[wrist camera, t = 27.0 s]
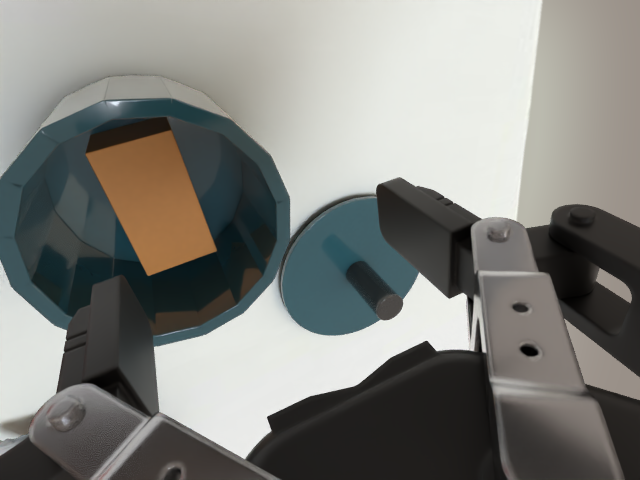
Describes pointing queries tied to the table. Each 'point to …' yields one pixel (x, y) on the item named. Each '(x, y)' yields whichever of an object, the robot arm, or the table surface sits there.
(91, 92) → the pot
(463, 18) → the table surface
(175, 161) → the orange rectangular block
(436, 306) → the table surface
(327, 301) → the lid
